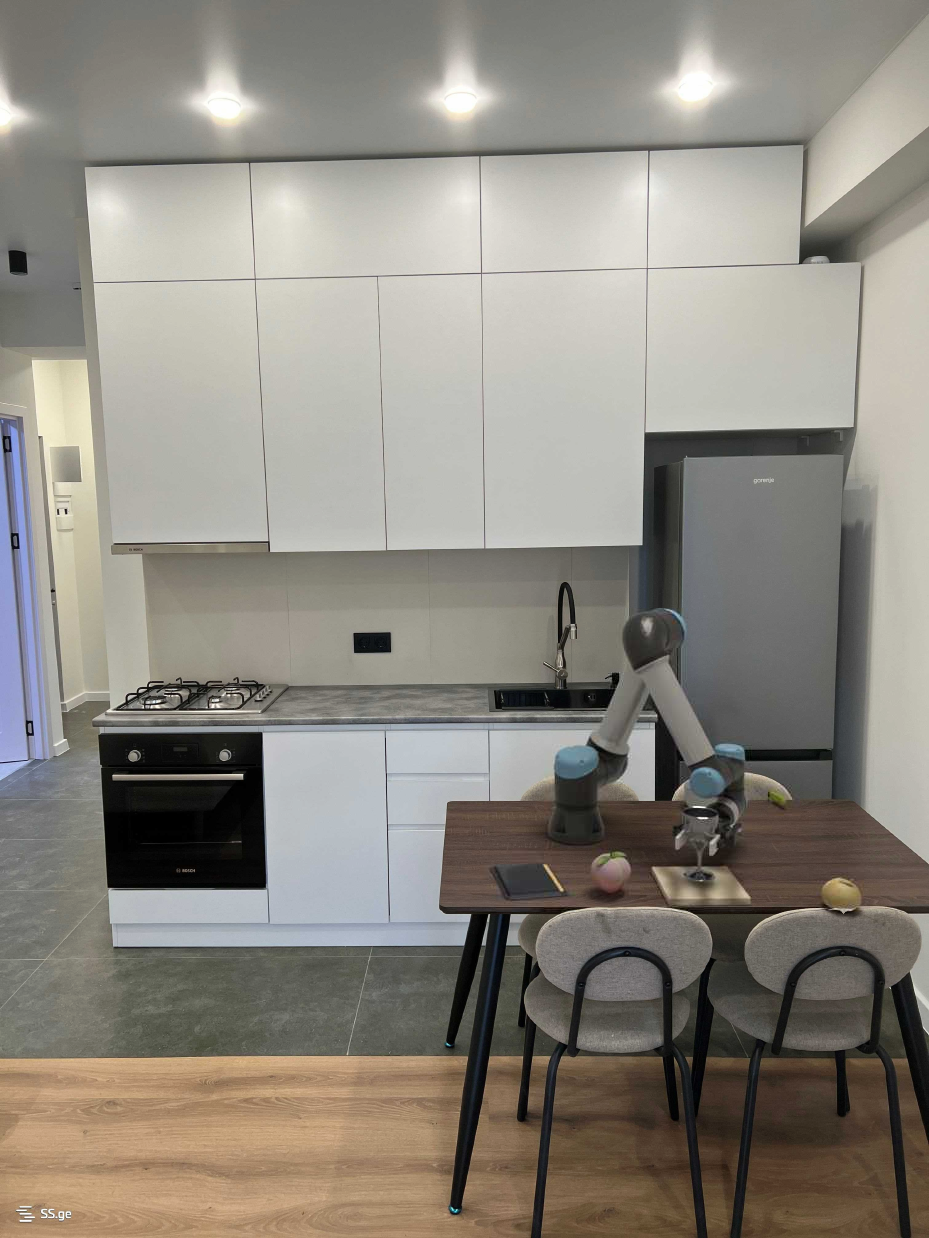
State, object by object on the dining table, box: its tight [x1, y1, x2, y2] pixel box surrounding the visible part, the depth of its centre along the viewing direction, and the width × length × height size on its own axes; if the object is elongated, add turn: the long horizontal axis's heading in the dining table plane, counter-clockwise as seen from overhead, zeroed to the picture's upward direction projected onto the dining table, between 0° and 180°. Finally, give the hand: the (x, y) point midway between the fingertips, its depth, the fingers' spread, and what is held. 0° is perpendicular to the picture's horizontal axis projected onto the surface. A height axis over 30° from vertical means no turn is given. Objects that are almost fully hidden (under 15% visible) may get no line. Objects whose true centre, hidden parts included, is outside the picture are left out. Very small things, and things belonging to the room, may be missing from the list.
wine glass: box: [681, 806, 718, 882], centre depth 199 cm, size 8×8×15 cm
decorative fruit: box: [590, 850, 632, 894], centre depth 198 cm, size 9×8×10 cm
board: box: [651, 865, 752, 907], centre depth 200 cm, size 18×18×2 cm
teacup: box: [683, 779, 714, 807], centre depth 256 cm, size 14×11×8 cm
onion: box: [820, 877, 862, 909], centre depth 189 cm, size 8×8×7 cm
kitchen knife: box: [752, 784, 787, 805], centre depth 264 cm, size 22×1×3 cm, turn 6°
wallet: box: [489, 862, 570, 902], centre depth 205 cm, size 20×2×15 cm
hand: (693, 846), depth 195 cm, fingers closed on wine glass, 7 cm apart
